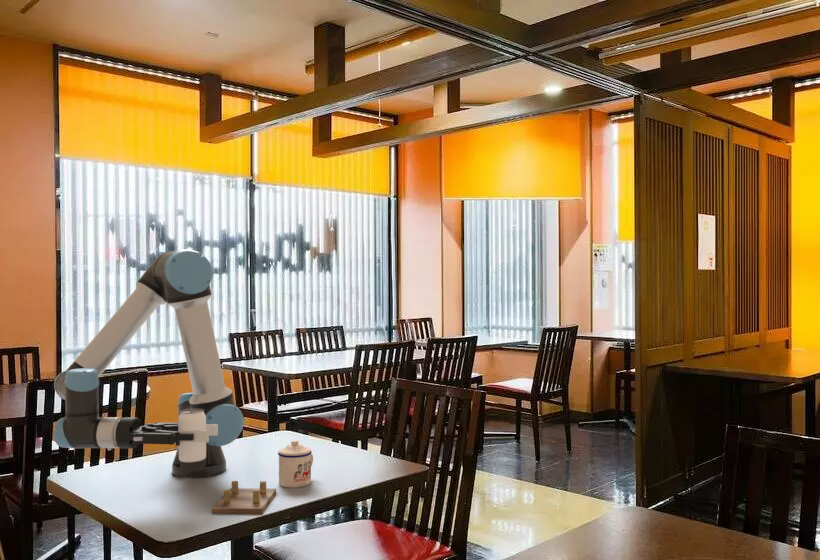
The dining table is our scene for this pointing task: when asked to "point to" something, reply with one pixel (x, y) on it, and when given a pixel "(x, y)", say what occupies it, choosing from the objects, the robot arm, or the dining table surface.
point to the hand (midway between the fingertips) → (212, 433)
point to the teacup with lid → (295, 465)
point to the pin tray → (244, 500)
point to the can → (192, 421)
